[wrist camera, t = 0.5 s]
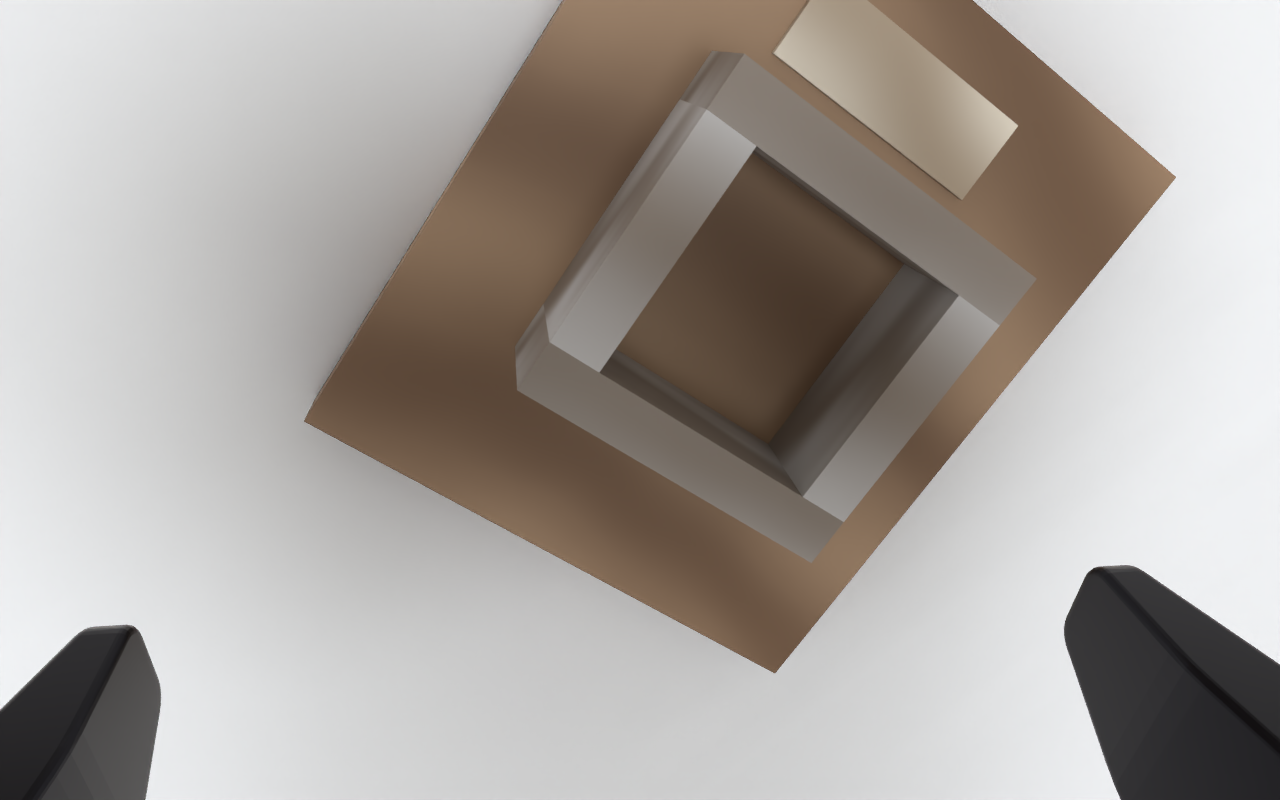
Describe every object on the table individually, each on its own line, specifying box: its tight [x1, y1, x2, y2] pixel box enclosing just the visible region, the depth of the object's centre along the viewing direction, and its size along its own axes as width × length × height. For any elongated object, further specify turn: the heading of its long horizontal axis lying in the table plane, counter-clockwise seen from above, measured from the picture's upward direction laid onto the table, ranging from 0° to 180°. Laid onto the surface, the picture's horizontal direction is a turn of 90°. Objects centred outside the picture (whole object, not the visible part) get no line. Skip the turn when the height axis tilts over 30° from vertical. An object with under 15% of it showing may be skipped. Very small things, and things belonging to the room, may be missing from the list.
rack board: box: [304, 0, 1176, 673], centre depth 22 cm, size 16×14×4 cm
